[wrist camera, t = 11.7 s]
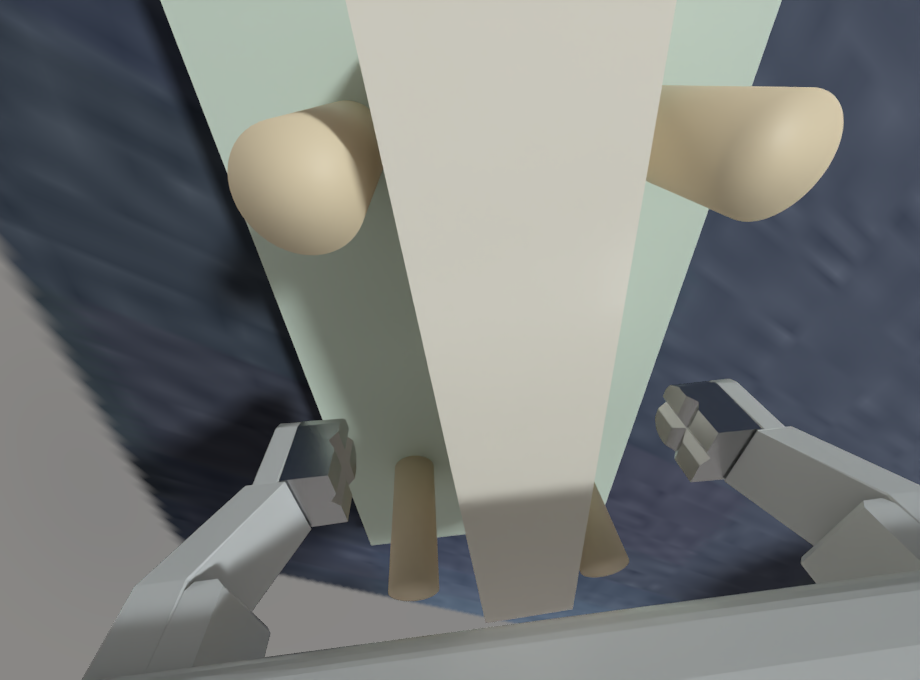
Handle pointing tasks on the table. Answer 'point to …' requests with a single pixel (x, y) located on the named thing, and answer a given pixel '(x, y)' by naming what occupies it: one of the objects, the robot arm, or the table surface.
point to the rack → (380, 255)
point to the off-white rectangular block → (517, 248)
